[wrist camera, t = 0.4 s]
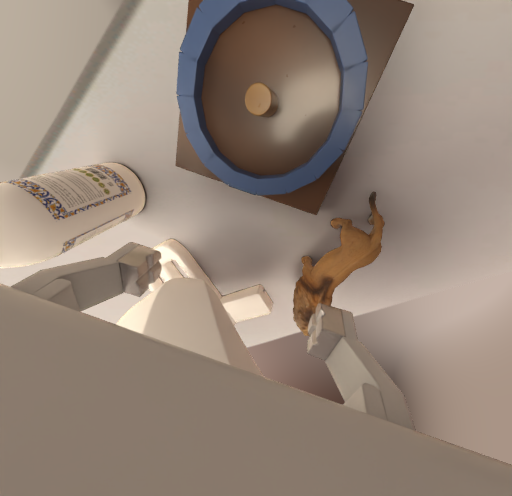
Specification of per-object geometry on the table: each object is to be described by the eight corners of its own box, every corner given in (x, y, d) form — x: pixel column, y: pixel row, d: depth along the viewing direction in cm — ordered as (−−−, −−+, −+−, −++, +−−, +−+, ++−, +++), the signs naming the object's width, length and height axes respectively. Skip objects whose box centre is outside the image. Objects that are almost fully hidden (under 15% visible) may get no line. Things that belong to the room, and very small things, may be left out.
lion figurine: (322, 294, 30) (326, 352, 23) (286, 278, 30) (279, 331, 23) (395, 200, 23) (439, 239, 15) (348, 178, 23) (368, 206, 15)
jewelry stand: (183, 328, 40) (43, 554, 19) (126, 261, 35) (-155, 471, 14) (313, 292, 30) (323, 683, 9) (259, 191, 25) (-13, 556, 4)
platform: (205, -45, 17) (160, -118, 12) (404, 16, 16) (447, -33, 11) (184, 163, 25) (152, 172, 20) (315, 209, 25) (317, 231, 20)
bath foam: (94, 156, 27) (-264, 207, 10) (145, 168, 27) (-146, 245, 10) (104, 207, 31) (-150, 310, 14) (149, 220, 30) (-58, 342, 13)
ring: (197, -54, 16) (187, -71, 14) (405, 10, 15) (415, -2, 14) (179, 163, 23) (170, 165, 22) (314, 210, 23) (314, 216, 22)
